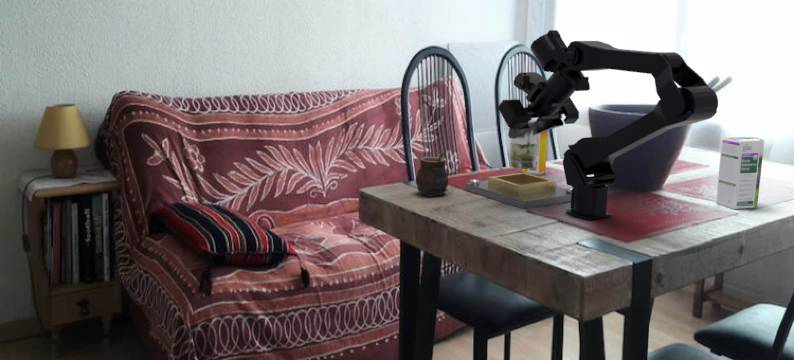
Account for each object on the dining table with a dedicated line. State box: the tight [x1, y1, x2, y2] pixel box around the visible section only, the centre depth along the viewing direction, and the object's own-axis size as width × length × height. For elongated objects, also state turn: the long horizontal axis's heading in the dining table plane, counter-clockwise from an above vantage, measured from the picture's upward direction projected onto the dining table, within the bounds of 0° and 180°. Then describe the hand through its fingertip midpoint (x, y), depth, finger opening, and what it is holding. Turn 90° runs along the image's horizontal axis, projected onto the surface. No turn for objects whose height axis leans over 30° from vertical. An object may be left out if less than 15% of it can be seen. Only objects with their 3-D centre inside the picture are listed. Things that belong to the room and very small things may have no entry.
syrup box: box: [715, 135, 765, 210], centre depth 144 cm, size 6×6×14 cm
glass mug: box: [505, 120, 537, 170], centre depth 152 cm, size 9×6×10 cm, turn 31°
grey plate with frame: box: [464, 172, 573, 210], centre depth 153 cm, size 20×16×4 cm
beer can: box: [520, 118, 549, 176], centre depth 175 cm, size 6×6×15 cm
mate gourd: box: [415, 152, 449, 197], centre depth 152 cm, size 7×8×10 cm
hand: (519, 135), depth 152 cm, fingers closed on glass mug, 5 cm apart
